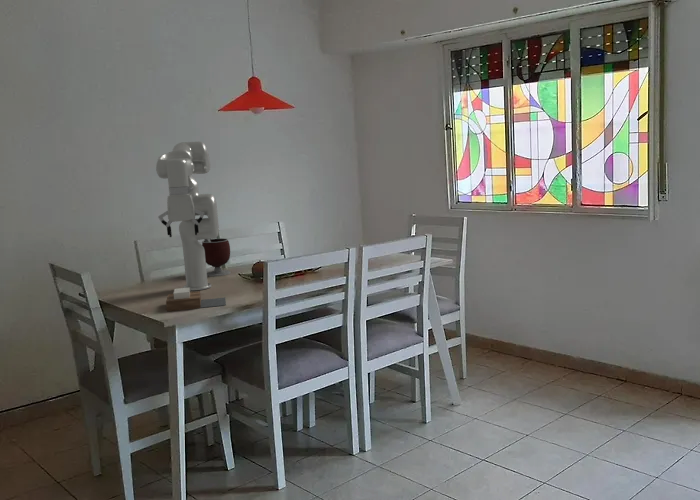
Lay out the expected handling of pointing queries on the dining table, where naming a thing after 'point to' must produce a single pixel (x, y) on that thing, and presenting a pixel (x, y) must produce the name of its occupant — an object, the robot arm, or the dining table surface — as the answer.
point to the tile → (182, 293)
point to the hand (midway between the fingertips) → (183, 235)
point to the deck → (184, 302)
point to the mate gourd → (217, 255)
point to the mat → (213, 302)
